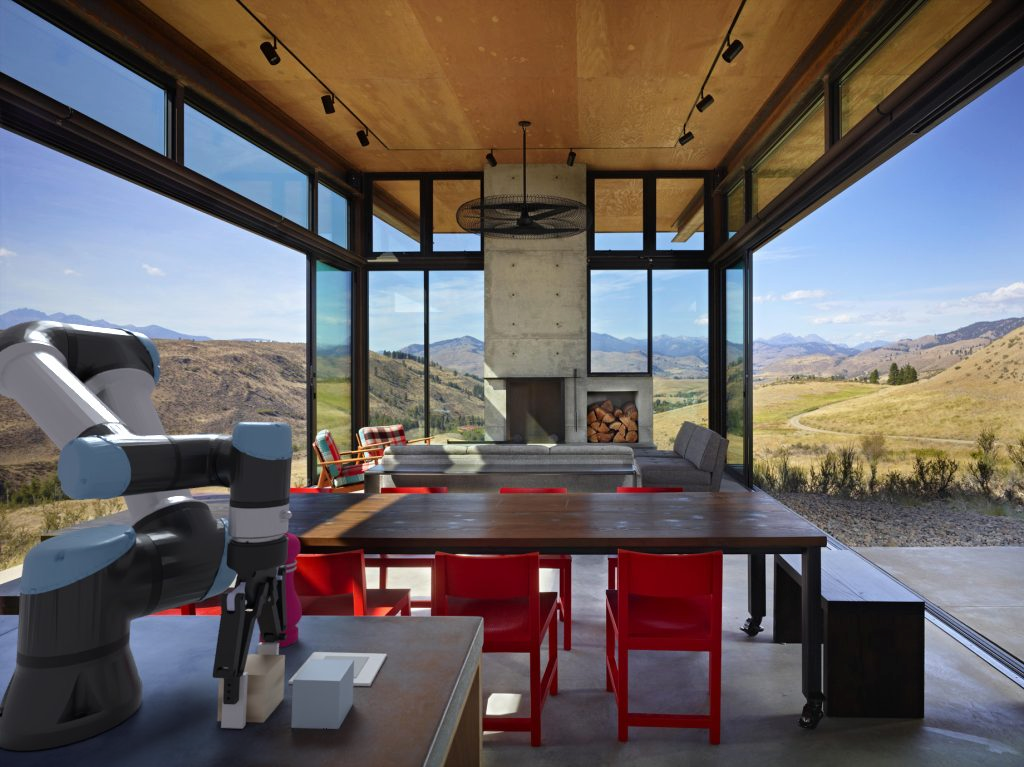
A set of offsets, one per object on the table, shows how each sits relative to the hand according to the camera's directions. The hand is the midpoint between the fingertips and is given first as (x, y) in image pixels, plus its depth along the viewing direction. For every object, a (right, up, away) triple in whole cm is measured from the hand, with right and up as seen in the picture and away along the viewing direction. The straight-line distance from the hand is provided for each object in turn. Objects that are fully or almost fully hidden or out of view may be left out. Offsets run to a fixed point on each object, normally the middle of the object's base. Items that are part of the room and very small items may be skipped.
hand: (250, 707), depth 75 cm
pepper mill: (-5, -2, +22) cm, 23 cm away
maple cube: (0, 0, 0) cm, 0 cm away
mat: (+8, -1, +12) cm, 15 cm away
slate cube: (+10, -1, -1) cm, 10 cm away
